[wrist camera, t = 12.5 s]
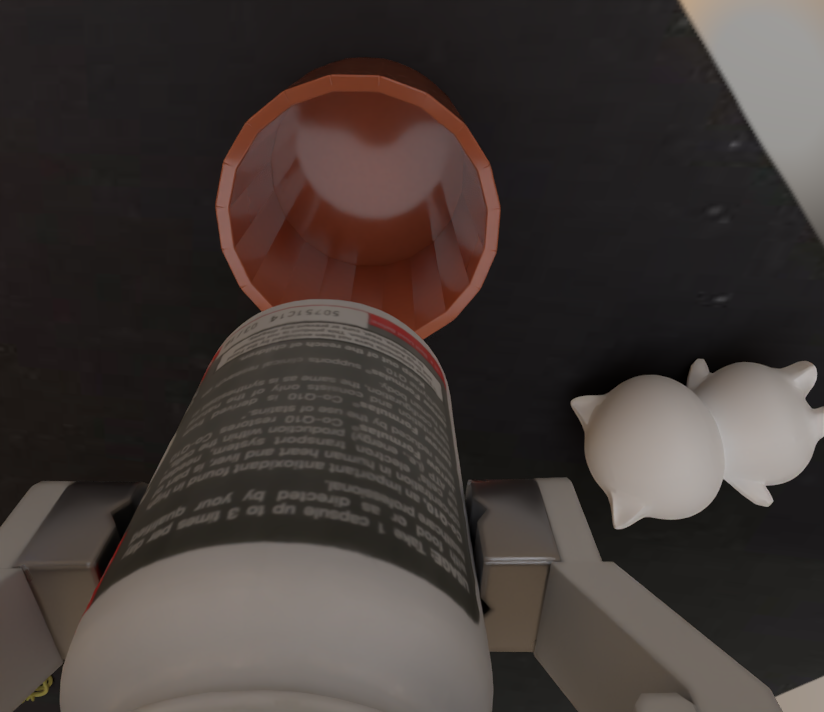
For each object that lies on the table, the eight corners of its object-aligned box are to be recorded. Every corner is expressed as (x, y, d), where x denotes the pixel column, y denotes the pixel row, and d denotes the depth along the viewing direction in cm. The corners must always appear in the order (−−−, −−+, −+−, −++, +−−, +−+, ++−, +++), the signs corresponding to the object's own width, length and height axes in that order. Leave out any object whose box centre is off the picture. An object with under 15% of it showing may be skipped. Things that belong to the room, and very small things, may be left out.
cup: (253, 55, 27) (194, 72, 19) (478, 58, 27) (513, 77, 19) (275, 268, 31) (236, 351, 24) (465, 269, 32) (488, 351, 24)
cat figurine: (890, 464, 27) (624, 527, 28) (800, 514, 36) (603, 560, 37) (793, 304, 31) (565, 364, 32) (735, 386, 40) (560, 430, 41)
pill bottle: (166, 326, 11) (-278, 940, 4) (417, 262, 10) (471, 825, 3) (263, 510, 13) (106, 1109, 6) (471, 465, 13) (573, 1059, 6)
